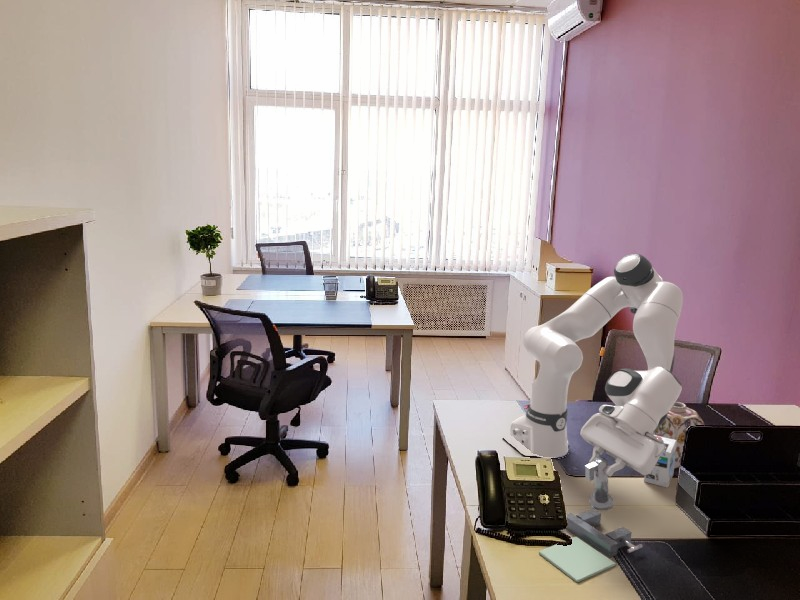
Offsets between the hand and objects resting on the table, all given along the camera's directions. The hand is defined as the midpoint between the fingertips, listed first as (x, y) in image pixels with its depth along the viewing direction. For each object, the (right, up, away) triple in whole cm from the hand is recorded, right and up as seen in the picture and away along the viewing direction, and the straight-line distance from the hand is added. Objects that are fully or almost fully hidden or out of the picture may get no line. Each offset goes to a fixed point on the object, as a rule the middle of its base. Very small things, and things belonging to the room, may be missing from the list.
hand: (599, 469), depth 148 cm
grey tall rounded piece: (+2, -9, +3) cm, 10 cm away
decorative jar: (+37, -9, +45) cm, 59 cm away
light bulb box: (+28, -12, +33) cm, 45 cm away
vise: (+2, -17, +2) cm, 18 cm away
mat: (-7, -19, -6) cm, 21 cm away
